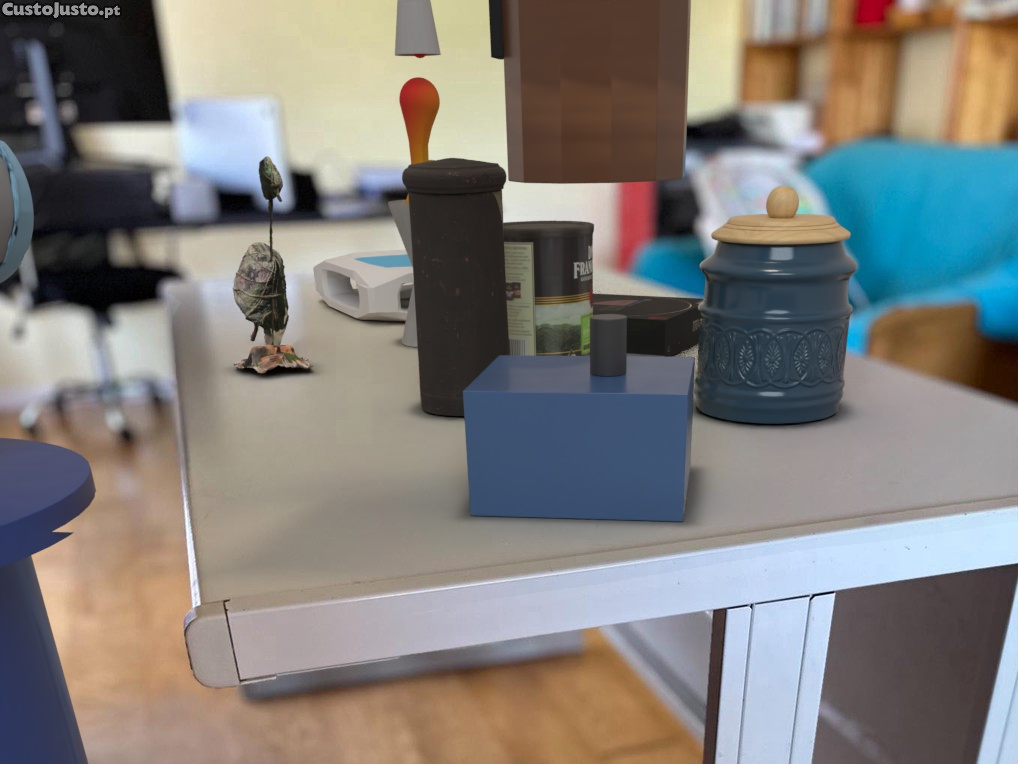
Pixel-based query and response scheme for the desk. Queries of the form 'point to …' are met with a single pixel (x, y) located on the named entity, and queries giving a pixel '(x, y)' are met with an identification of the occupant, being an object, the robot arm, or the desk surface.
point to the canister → (774, 316)
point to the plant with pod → (266, 290)
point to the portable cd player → (654, 322)
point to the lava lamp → (415, 115)
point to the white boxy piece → (367, 284)
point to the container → (457, 275)
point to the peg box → (581, 433)
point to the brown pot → (596, 90)
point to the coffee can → (549, 287)
